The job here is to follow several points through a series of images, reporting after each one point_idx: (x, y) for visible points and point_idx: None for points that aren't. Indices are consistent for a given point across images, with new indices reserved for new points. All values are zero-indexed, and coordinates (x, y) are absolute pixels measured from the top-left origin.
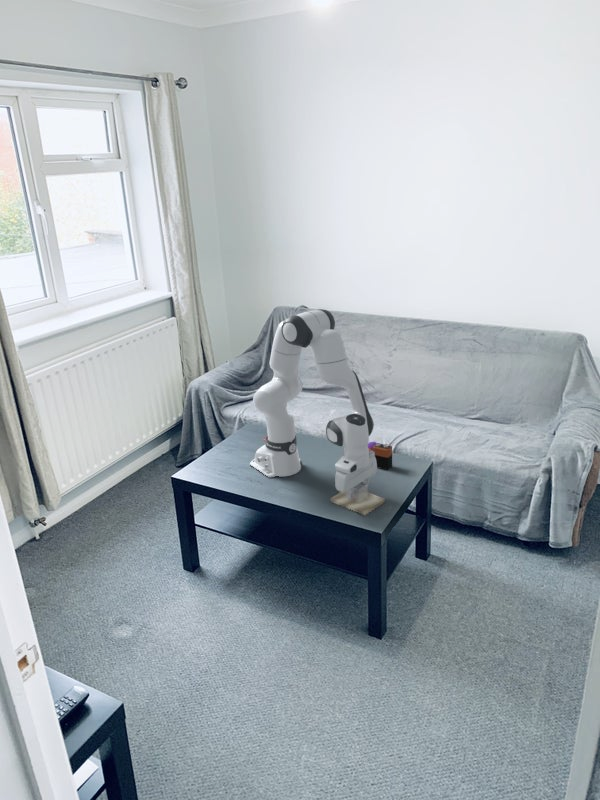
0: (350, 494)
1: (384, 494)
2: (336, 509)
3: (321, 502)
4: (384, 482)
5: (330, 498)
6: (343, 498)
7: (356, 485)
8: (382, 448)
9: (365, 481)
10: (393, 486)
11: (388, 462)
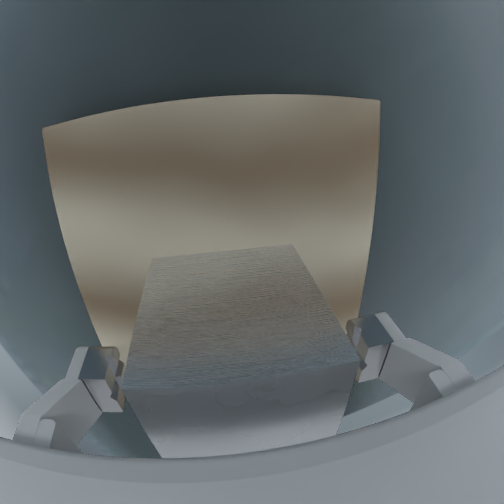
0: (94, 416)
1: (401, 331)
2: (29, 257)
3: (4, 92)
4: (499, 241)
5: (42, 128)
6: (132, 218)
7: (219, 445)
8: None
9: (401, 367)
10: (477, 300)
11: None
